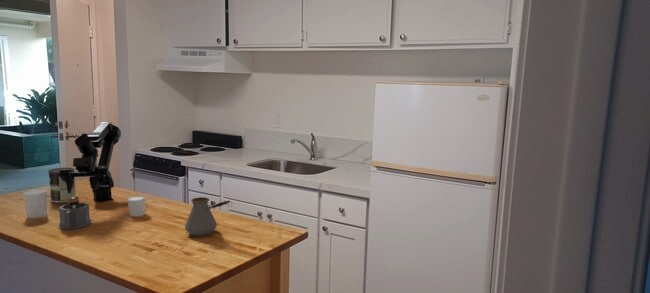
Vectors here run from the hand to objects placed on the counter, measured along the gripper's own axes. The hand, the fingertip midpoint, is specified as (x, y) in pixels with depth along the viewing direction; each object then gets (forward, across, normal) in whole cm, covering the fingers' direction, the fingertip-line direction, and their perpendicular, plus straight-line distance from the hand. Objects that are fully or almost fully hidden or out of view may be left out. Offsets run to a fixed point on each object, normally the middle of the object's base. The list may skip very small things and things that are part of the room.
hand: (81, 192), depth 177 cm
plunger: (+11, 0, 0) cm, 11 cm away
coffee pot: (+26, +53, -9) cm, 60 cm away
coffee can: (-12, -20, +28) cm, 36 cm away
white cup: (+4, -20, +10) cm, 23 cm away
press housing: (+13, 0, +1) cm, 13 cm away
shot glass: (+6, +20, +10) cm, 23 cm away
